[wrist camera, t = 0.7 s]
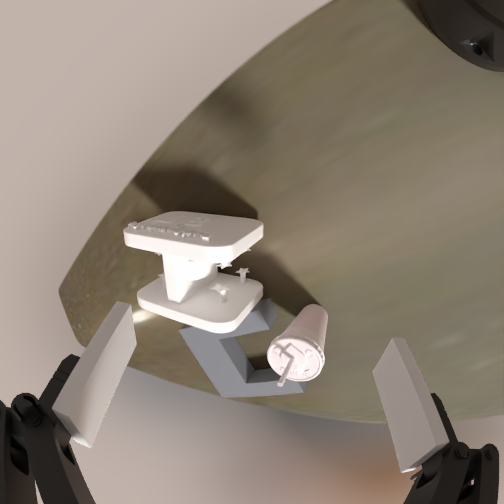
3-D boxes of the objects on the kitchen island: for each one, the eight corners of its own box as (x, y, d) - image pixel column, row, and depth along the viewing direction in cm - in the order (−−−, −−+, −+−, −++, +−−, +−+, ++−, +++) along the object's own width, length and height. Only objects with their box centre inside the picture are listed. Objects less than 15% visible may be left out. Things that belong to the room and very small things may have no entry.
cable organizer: (179, 271, 45) (128, 304, 35) (174, 205, 41) (114, 226, 31) (268, 291, 39) (228, 339, 29) (270, 215, 35) (225, 244, 25)
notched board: (269, 297, 39) (259, 309, 36) (309, 377, 41) (303, 392, 38) (190, 319, 47) (178, 330, 44) (231, 385, 49) (222, 397, 46)
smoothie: (336, 294, 35) (310, 367, 23) (338, 335, 37) (314, 412, 25) (288, 294, 38) (244, 360, 26) (294, 334, 40) (256, 404, 28)
